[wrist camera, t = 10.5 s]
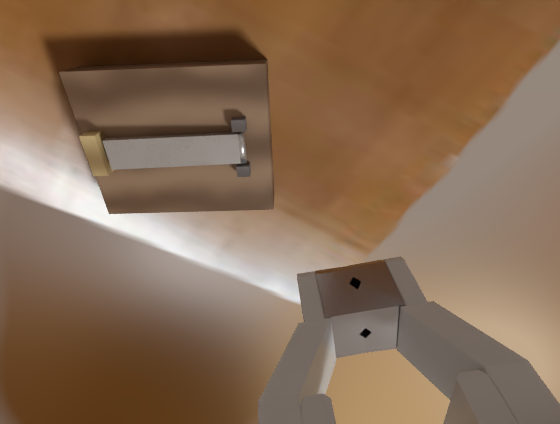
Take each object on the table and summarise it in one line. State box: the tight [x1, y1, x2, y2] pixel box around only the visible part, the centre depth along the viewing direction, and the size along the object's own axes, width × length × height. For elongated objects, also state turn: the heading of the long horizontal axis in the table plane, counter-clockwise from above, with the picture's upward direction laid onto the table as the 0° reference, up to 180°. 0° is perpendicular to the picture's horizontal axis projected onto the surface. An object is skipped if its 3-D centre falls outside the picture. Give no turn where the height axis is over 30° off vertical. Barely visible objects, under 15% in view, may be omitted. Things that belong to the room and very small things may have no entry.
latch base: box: [59, 59, 274, 214], centre depth 36 cm, size 16×20×6 cm
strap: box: [103, 132, 247, 170], centre depth 35 cm, size 3×14×1 cm, turn 92°
